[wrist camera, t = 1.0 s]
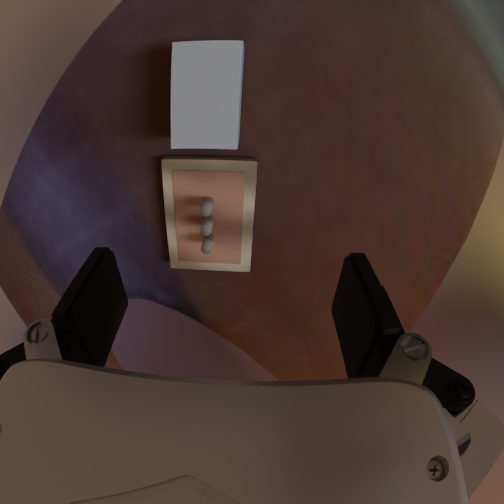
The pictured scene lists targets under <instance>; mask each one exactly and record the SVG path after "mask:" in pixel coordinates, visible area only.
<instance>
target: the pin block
mask: <svg viewBox="0 0 504 504" xmlns="http://www.w3.org/2000/svg"><path fill="white" fill-rule="evenodd" d="M257 163H258V161H257V159H256V158H236V157H199V156H171V157H164V158H163V159H162V178H163V193H164V205H165V217H166V227H167V237H168V246H169V255H170V263H171V268H182V269H200V270H219V271H239V272H250V264H251V249H252V235H253V220H254V206H255V192H256V177H257Z"/></svg>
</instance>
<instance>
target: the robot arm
mask: <svg viewBox="0 0 504 504" xmlns="http://www.w3.org/2000/svg"><path fill="white" fill-rule="evenodd" d="M127 306H128V299H127V295H126V292H125V289H124V286H123V283H122V279H121V276H120V273H119V269H118V266H117V262H116V259H115V255H114V252H113V251H110V249H109V248H108V247H96V248H95V249H94V250H93V251H92V253H91V254H90V256H89V257H88V258H87V260H86V261H85V263H84V264H83V266H82V267H81V269H80V270H79V272H78V273H77V275H76V276H75V278H74V279H73V281H72V282H71V284H70V285H69V287H68V288H67V290H66V292H65V293H64V295H63V296H62V298H61V300H60V301H59V303H58V305H57V306H56V308H55V310H54V311H53V313H52V317H53V318H52V320H51V321H49V320H47V319H39V320H36V321H34V322H32V323H31V324H30V325H29V326H28V327H27V329H26V330H25V332H24V335H23V340H24V342H23V343H21V344H19V345H17V346H16V347H14V348H12V349H10V350H8V351H6V352H4V353H3V354H1V355H0V504H468V499H469V497H470V496H471V495H472V494H473V492H474V491H475V490H476V488H477V487H478V486H479V484H480V483H481V482H482V480H483V479H484V477H485V476H486V475H487V473H488V472H489V470H490V468H491V467H492V466H493V464H494V463H495V461H496V460H497V458H498V457H499V455H500V453H501V452H502V450H503V448H504V424H503V423H502V421H501V420H500V419H499V418H498V417H497V416H496V415H495V414H494V413H493V412H492V411H491V410H490V409H489V407H488V406H487V405H485V403H484V402H483V401H482V400H481V399H478V400H476V399H475V390H474V387H473V385H472V383H471V382H470V381H469V380H468V379H467V378H466V377H464V376H462V375H461V374H459V373H457V372H455V371H454V370H452V369H450V368H449V367H447V366H445V365H444V364H442V363H440V362H439V361H437V360H435V359H433V358H432V347H431V345H430V343H429V342H428V341H427V340H426V339H425V338H424V337H422V336H421V335H418V334H416V333H405V332H404V329H403V327H402V325H401V323H400V320H399V318H398V316H397V314H396V312H395V309H394V307H393V305H392V303H391V301H390V299H389V297H388V295H387V292H386V290H385V289H384V287H383V286H382V285H380V283H379V281H378V279H377V277H376V275H375V273H374V271H373V269H372V267H371V265H370V263H369V261H368V259H367V257H366V255H365V254H364V253H350V255H349V257H348V256H346V257H345V259H344V263H343V267H342V270H341V274H340V278H339V282H338V286H337V289H336V293H335V297H334V300H333V304H332V315H333V319H334V323H335V327H336V331H337V335H338V339H339V343H340V347H341V351H342V355H343V359H344V363H345V368H346V372H347V376H348V378H346V379H330V380H307V381H230V380H210V379H194V378H182V377H172V376H163V375H154V374H146V373H138V372H131V371H125V370H118V369H112V368H106V367H104V366H105V363H106V360H107V358H108V355H109V352H110V350H111V347H112V344H113V342H114V339H115V336H116V334H117V331H118V329H119V326H120V324H121V321H122V319H123V316H124V314H125V311H126V309H127Z"/></svg>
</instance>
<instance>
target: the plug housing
mask: <svg viewBox="0 0 504 504" xmlns="http://www.w3.org/2000/svg"><path fill="white" fill-rule="evenodd" d="M243 61H244V42H243V41H231V40H212V41H186V42H172V62H171V149H177V148H202V149H237V148H238V143H239V133H240V113H241V95H242V78H243Z"/></svg>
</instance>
